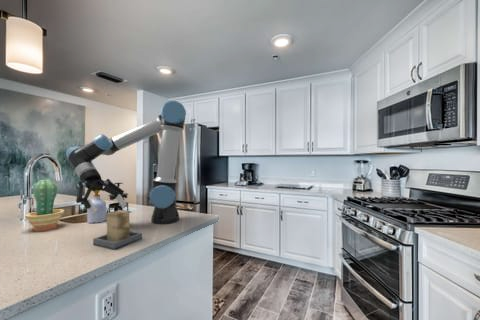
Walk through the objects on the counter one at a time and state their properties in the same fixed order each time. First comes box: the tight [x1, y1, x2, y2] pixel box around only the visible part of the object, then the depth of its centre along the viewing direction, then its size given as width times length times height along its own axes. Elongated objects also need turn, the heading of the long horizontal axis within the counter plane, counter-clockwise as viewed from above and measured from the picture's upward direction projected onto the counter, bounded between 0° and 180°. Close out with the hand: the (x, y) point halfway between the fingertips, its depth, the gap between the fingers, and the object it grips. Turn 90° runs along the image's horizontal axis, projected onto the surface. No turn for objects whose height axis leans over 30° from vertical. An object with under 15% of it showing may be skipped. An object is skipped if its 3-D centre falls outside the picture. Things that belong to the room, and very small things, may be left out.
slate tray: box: [92, 230, 143, 251], centre depth 94 cm, size 13×13×2 cm
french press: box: [108, 182, 129, 213], centre depth 116 cm, size 12×9×23 cm
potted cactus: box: [24, 179, 65, 232], centre depth 114 cm, size 15×15×25 cm
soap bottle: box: [86, 190, 107, 224], centre depth 126 cm, size 9×9×25 cm
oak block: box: [106, 210, 131, 242], centre depth 94 cm, size 6×6×12 cm
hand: (110, 209), depth 96 cm, fingers open, 13 cm apart
